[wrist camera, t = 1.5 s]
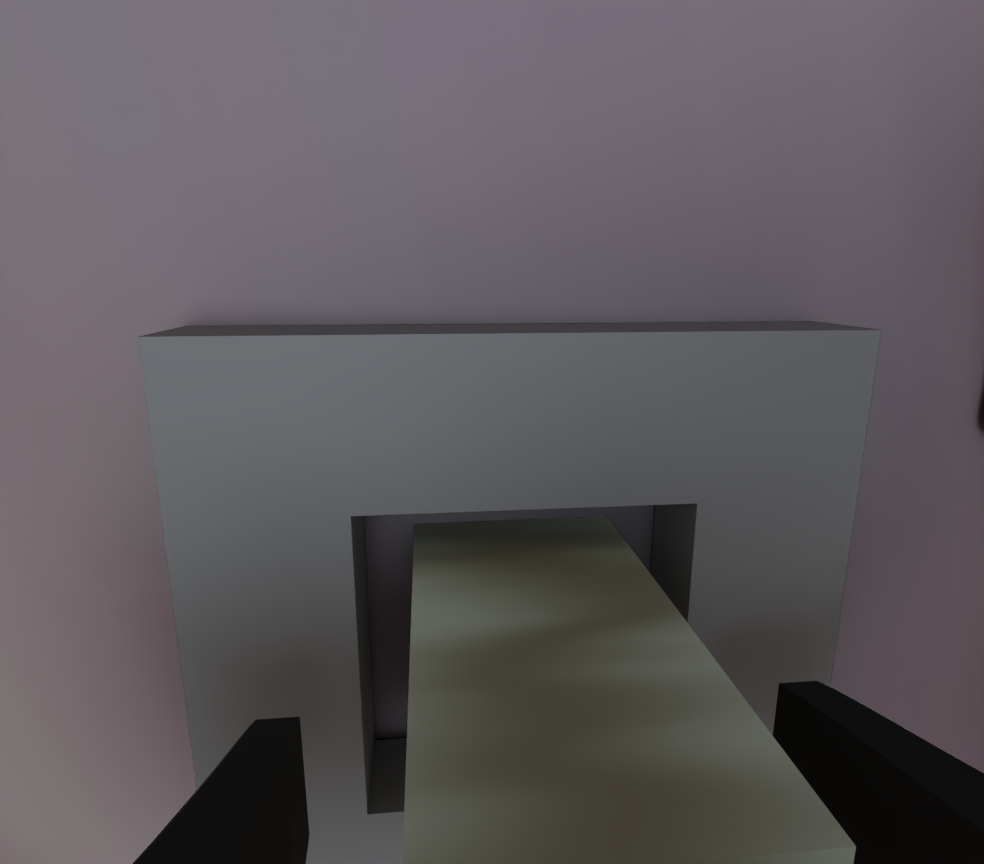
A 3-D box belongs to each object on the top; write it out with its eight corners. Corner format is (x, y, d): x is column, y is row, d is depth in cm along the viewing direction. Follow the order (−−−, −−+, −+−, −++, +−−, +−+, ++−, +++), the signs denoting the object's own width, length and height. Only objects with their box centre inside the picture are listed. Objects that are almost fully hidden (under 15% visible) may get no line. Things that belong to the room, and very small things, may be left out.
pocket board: (812, 321, 13) (880, 329, 11) (753, 818, 16) (799, 894, 14) (184, 326, 12) (137, 336, 10) (245, 864, 14) (218, 954, 13)
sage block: (607, 516, 13) (855, 846, 6) (599, 684, 14) (803, 1161, 7) (414, 523, 13) (401, 889, 5) (419, 695, 14) (415, 1217, 6)
